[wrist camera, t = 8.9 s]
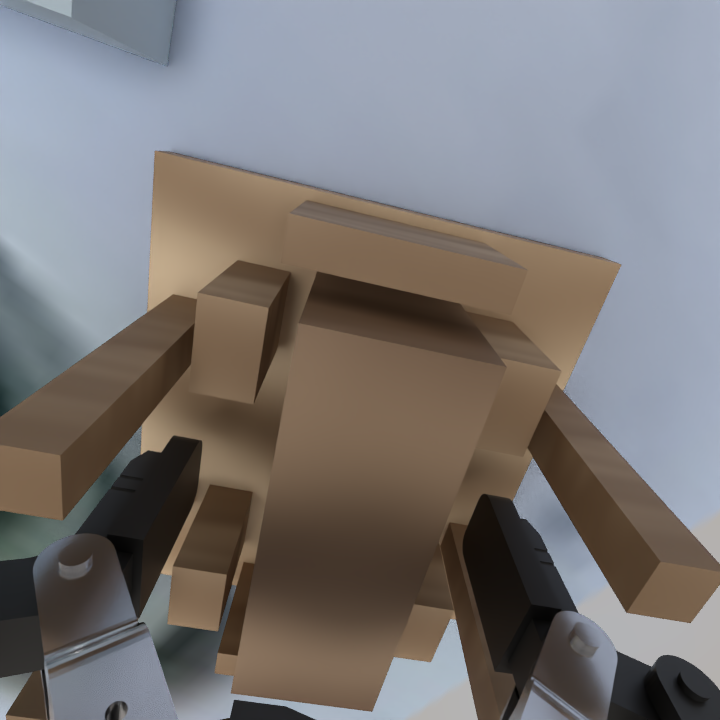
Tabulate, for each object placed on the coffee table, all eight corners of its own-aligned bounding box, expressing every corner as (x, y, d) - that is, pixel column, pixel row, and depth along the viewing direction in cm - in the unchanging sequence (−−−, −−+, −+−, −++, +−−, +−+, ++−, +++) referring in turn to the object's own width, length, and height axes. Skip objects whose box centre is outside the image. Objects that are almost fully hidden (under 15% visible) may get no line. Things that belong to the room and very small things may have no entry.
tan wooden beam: (319, 265, 13) (298, 322, 8) (454, 296, 13) (507, 367, 9) (264, 550, 17) (230, 693, 12) (368, 567, 17) (371, 711, 13)
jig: (169, 151, 12) (-142, 132, 5) (603, 257, 14) (928, 382, 6) (146, 549, 18) (-10, 836, 10) (452, 598, 20) (517, 887, 12)
